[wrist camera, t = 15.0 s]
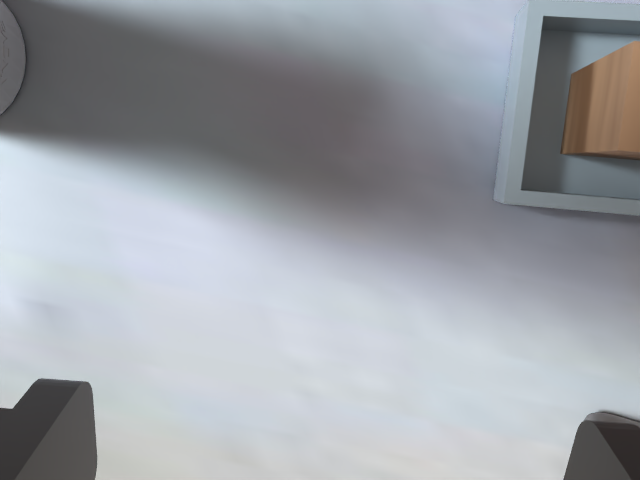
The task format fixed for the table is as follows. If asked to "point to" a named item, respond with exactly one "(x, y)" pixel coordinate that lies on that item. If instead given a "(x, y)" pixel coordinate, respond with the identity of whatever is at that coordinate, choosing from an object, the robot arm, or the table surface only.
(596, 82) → the block
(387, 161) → the table surface
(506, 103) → the tray
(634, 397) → the table surface
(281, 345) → the table surface
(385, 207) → the table surface
